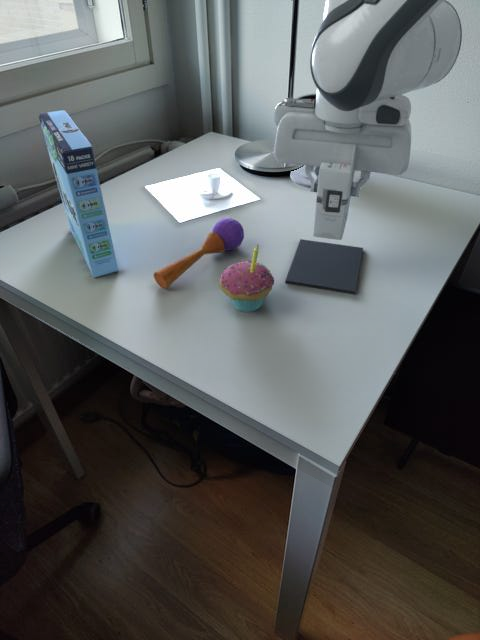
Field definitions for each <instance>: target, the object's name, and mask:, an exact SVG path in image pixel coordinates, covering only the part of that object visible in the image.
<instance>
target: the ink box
mask: <svg viewBox="0 0 480 640" xmlns="http://www.w3.org/2000/svg"><path fill="white" fill-rule="evenodd" d="M356 145H357V144H356ZM356 145H355V147H354V151H353V157H352V164H351V165H346V164H337V163H321V166H320V169H319V179H318V189H317V192H316V199H315V200H316V201H315V211H314V220H313V232H312V237H314V238H323V239H329V240H336V241H342V240H343V238H344V237H343V236H344V233H345V229H346V225H347V221H348V216H349V209H350V202H351V197H352V196H350V192H351V186H352V182H354V177H355V172H356V170H353V167H354V160H355V153H356Z"/></svg>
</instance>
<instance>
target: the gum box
mask: <svg viewBox="0 0 480 640" xmlns="http://www.w3.org/2000/svg"><path fill="white" fill-rule="evenodd" d="M37 116H38V120H39V122H40V127H41V131H42V134H43V137H44V142H45V144H46V148H47V152H48V156H49V159H50V163H51V166H52V170H53V174H54V177H55V181H56V184H57V188H58V192H59V196H60V199H61V202H62V206H63V210H64V214H65V216H66V220H67V223H68V227H69V230H70V232H71V234H72V237H73V238H74V240H75V242H76V244H77V246H78V248H79V250H80V252H81V254H82V256H83V258H84V261H85V263H86V265H87V267H88V269H89V271H90V274H91V276H92V277H93V278H94V279H96V278H100V277H103V276H106V275H110V274H113V273H117V272H119V266H118V261H117V258H116V253H115V248H114V243H113V239H112V234H111V229H110V225H109V220H108V216H107V215H108V214H107V211H106V206H105V202H104V197H103V193H102V187H101V182H100V178H99V174H98V170H97V164H96V160H95V159H96V158H95V155H94V149H93V145H92V144H91V143H90V141H89V140H88V139H87V137H86V136H85V135H84V134H83V133H82V131H81V129H80V128H79V127H78V126H77V124H76V123H75V122H74V120H73V119H72V118H71V116H70V115H69V113H68V112H67V111H66V110H65V109H62V110H56V111H48V112H43V113H38V114H37Z"/></svg>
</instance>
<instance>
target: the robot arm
mask: <svg viewBox="0 0 480 640" xmlns="http://www.w3.org/2000/svg"><path fill="white" fill-rule="evenodd" d="M462 28H463V27H462V22H461V19H460V16H459V14H458V11H457V10H456V8H455V7H454V6H453V4H451V3H450V2H449V1H447V0H325V2H324V10H323V16H322V22H321V24H320V25H319V27H318V29H317V31H316V34H315V37H314V39H313V43H312V45H311V50H310V57H309V69H310V74H311V79H312V80H313V83H314V86H315V87H316V99H295V98H296V97H295V98H294V97H286V98H285V99H284V100H281V101H279V102H278V103H277V104H276V106H275V108H274V124H275V126H276V127H277V129H276V134H275V140H274V146H273V157H274V159H275V161H277V163H278V164H288V165H296V166H297V165H298V166H300V165H306V167H305V172H306V174H307V176H308V178H309V180H310V182H311V187H310V192H311V193H317V189H318V179H319V178H317V176H316V174H315V172H314V170H315V168H316V166H317V167H320V166H321V163H337V164H346V165H351V164H352V157H353V151H354V147H355V145H356V144H357V145H356V153H355V160H354V167H353V170H355V171H356V172H357V171H358V172H360V175H359V177H360V178H359V179H358V181H353V182H352V186H351V192H350V196H351V197H354V198H355V197H356V198H360V195H361V188H363V187H364V185H365V184H366V183H367V182H368V180H369V179H370V176H371V173H378V174H388V175H396V176H401V175H402V174H404V173H405V172H406V171H407V170H408V169H409V165H410V157H411V149H412V125H411V122H410V117H411V113H412V103H411V100H410V98H409V97H408V96H407V95H406V96H405V94H407V93H411V92H415V91H418V90H421V89H425V88H427V87H430V86H432V85H435V84H438V83H439V82H441V81H442V80H444V78H446V76H448V74H449V73H450V72H451V70H453V67H454V66H455V64H456V62H457V59H458V57H459V54H460V50H461V46H462V41H463V40H462V39H463V31H462Z"/></svg>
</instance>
